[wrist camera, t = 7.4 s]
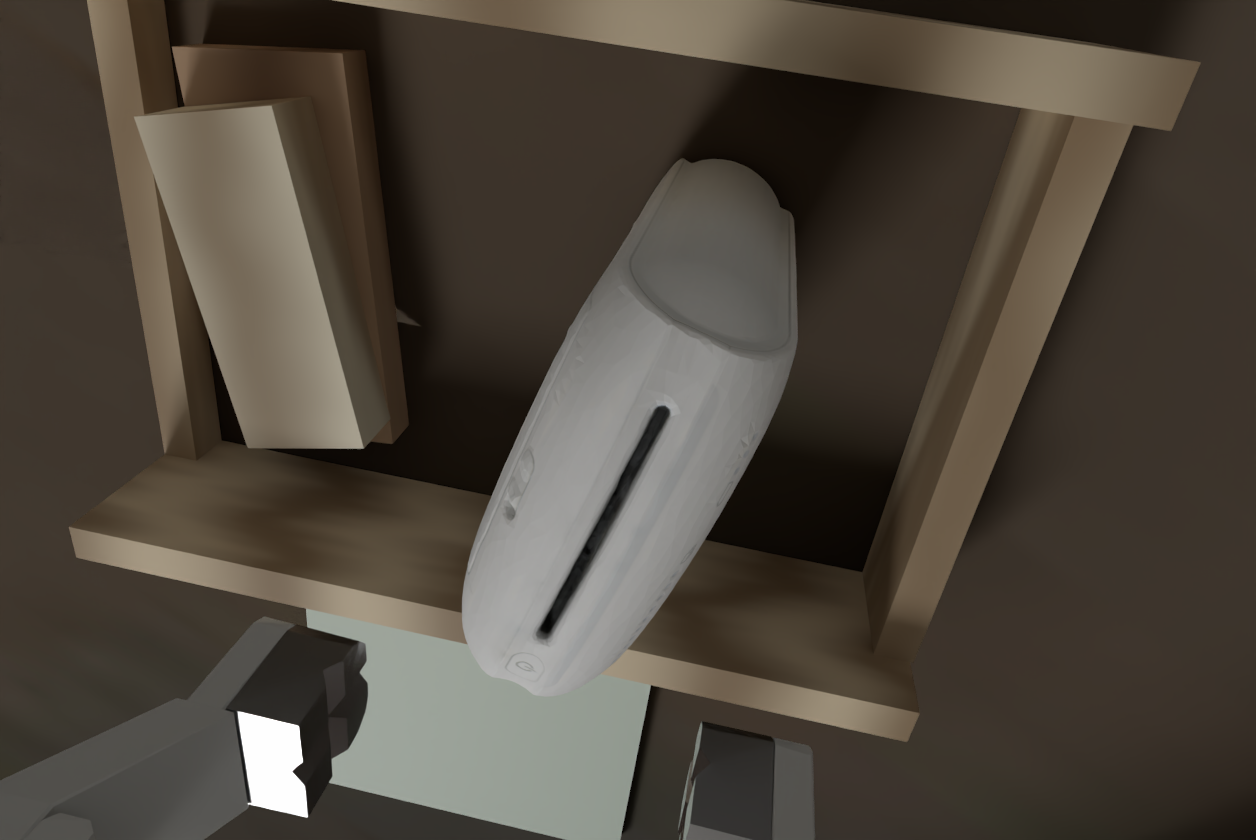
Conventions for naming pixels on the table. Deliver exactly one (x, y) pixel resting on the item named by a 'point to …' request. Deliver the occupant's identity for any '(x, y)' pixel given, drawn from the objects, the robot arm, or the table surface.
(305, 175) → the birch offcut
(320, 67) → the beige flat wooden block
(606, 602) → the photo printer
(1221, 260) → the table surface
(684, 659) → the frame
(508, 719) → the sage board
